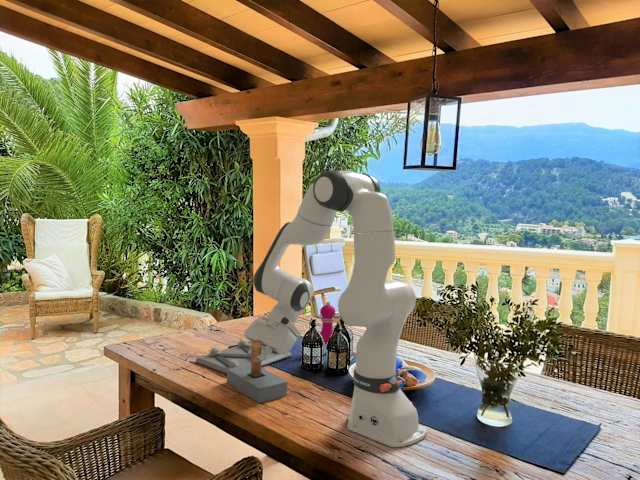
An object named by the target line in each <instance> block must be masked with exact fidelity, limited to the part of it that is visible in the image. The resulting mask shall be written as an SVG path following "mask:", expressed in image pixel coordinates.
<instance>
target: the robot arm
mask: <svg viewBox="0 0 640 480" xmlns="http://www.w3.org/2000/svg"><path fill="white" fill-rule="evenodd" d="M344 211H347V212H348V213H349V214H350V216H351V219H352V226H353V227H352V228H353V229H352V231H353V232H352V233H353V249H354V251H353V255H354V260H353V261H354V262H353V267H352V268H353V269H352V274H351V277H350V280H349V283H348V285H347V287H346V288H345V290H344V291H343V292H342V293H341V295H340V296H339V298H338V301H337V302H338V303H337V307H338V308H337V309H338V313H339V316H340V318H341V320H342V321H343V322H344V323H345V324H346V325H348V326H350V327H359V328H361V327H362V328H365V330H364V332H363V334H362V335H361V336H360V337H359V339H358V340H357V342H356V346H355V347H356V348H355V349H356V351H355V368H354V370H353V379H352V380H353V384H354V388H353V392H352V394H353V395H352V398H351V405H350V411H349V413H348V416H347V421H348V422H347V424H346V425H347V426H346V429H347V430H349V431H351V432H354V433H357V434H359V435H361V436H363V437H366V438H369V439H371V440H373V441H375V442H378V443H381V444H382V445H385V446H387V447H390V448H401V447H406V445H407V446H410V445H412V444H415V443H418V442H420V441H421V440H423V439H425V438H426V436H427V434H428V429H427V428H426V427H424V426H423V425H421V424H420V423H419V414H418V411H417V408H416V407H415V406H414V405H413V402H412V401H411V400H409V398H408V397H407V396H406V394H405V393H404V392H403V391H402V389H401V385H402V384H403V383H404V382H403V381H404V379H399V376H398V372H397V371H396V370H397V353H398V345H399V341H400V337H401V335H402V331H403V328H404V325H405V323H406V321H407V319H408V317H409V315H410V314H411V313H412V312H413V310H414V309H415V306H416V302H417V297H416V294H415V291H414V289H413V288H412V286H411V285H410V284H408V283H407V282H404V281H400V280H399V281H397V280H387V276H388V272H389V270H390V268H391V267H392V266H393V264H394V263H395V261H396V257H397V256H396V242H395V229H394V218H393V213H392V212H393V211H392V208H391V204H390V201H389V199H388V197H387V196H386V194H384V193H382V192H381V186H380V183H379V181H378V180H377V179H376V178H375V177H374V176H372V175H370V174H368V173H363V172H361V173H360V172H357V171H356V172H355V171H352V170H335V169H334V170H333V169H332V170H326V171H324V172H321V173H320V174H319V175H317V176H316V178H315V180H314V182H313V183H312V184H311V185H310V186H309V187H308V189H307V190H306V191H305V194H304V196H303V198H302V201H301V203H300V205H299V208H298V210H297V213H296V215H295V217H294V218H293V220H292V221H289V222H288V221H287V222H286V223H284V224H283V226H281V228H280V230H278V232H277V234H276V236H275V238H274V240H273V241H272V243H271V245H270V247H269V249H268V251H267V252H266V255H265V256H264V259H263V260H262V262H261V263H260V265H259V266H258V268H257V269H256V271H255V273H254V275H253V277H252V281H253V286H254V288H255V291H256V292H258V293H260V294H262V295H265V296H268V297H269V298H271V299H273V300H274V301H276V302H277V303H276V304H275V305H274V306H273V307H272V309H271V310H270V312H269V313H268V314H267V315H266V316H263V315H262V316H260V317H257V318H256V319H254V320H253V322H252V323H250V325H249V326H247V328H246V329H245V330H244V333H243V336H244V337H245V339H246V340H247V341H248V342H252V341H254V340H260V341H262V346H264V347H265V350H264V351H262V352H261V353H260V352H259V353H258V355H257V358H258V359H260V360H263V359H264V357H265V356H267V355H268V354H270V353H271V352H272V351H276V352H278V353H281V354H283V355H285V354H287V353H288V352H289V351H290V352H291V350H292V348H293V347H294V345H295V343H296V341H297V338H298V337H300V336H301V334H302V332H301V330H300V329H299V327H298V326H297V325H296V323H297V320H298V317H299V316H300V315H301V314H302V313H303V312H304V311H305V310H306V308H307V307H308V304H309V303H310V301H311V299H312V297H313V294H314V292H315V288H314V286H313V284H312V283H311V282H310V281H309V280H307V279H306V278H304V277H297V276H295V275H293V274H291V273H289V272H287V271H285V270H283V269H282V268H281V267H280V265H279V263H280V261H281V260H282V258H283V256H284V254H285V252H286V250H287V249H288V247H289V246H290V245H297V246H299V245H300V246H313V245H317V244H320V243H322V242H324V241H325V240H326V238H327V237H328V235H329V233H330V230H331V228H332V226H333V223H334V220H335V217H336V214H337V212H339V213H343V212H344ZM386 280H387V281H386ZM248 354H249V355H250V356H251V349H250V350H249V352H248Z"/></svg>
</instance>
